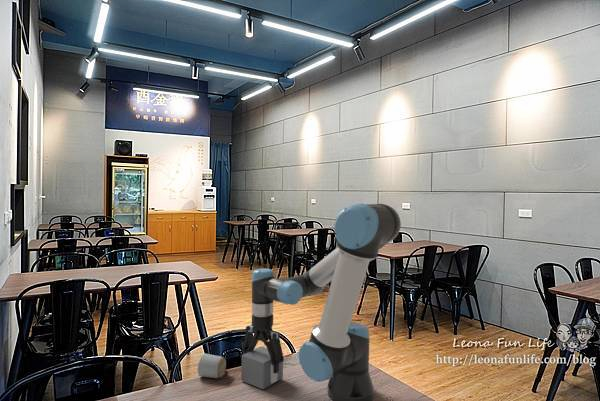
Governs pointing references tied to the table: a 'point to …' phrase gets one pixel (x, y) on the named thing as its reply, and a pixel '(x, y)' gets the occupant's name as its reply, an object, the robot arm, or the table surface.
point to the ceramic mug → (211, 366)
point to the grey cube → (258, 368)
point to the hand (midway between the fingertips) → (262, 377)
